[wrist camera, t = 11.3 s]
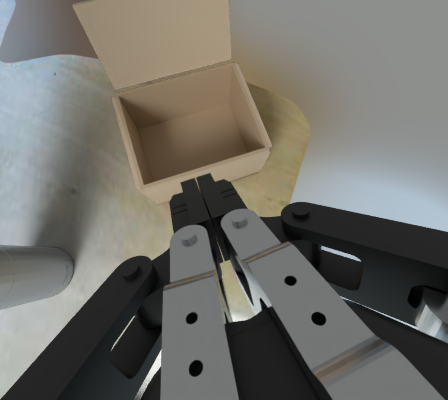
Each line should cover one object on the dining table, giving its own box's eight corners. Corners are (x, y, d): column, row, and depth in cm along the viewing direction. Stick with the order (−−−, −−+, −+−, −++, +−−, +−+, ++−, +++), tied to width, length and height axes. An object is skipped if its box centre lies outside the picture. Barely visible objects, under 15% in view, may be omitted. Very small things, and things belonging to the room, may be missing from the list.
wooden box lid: (227, -29, 34) (226, -31, 34) (72, 6, 31) (72, 3, 32) (231, 59, 44) (230, 57, 44) (114, 90, 41) (114, 87, 42)
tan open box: (261, 174, 52) (274, 151, 41) (156, 208, 50) (138, 194, 38) (232, 101, 56) (237, 61, 44) (133, 129, 53) (110, 94, 42)
